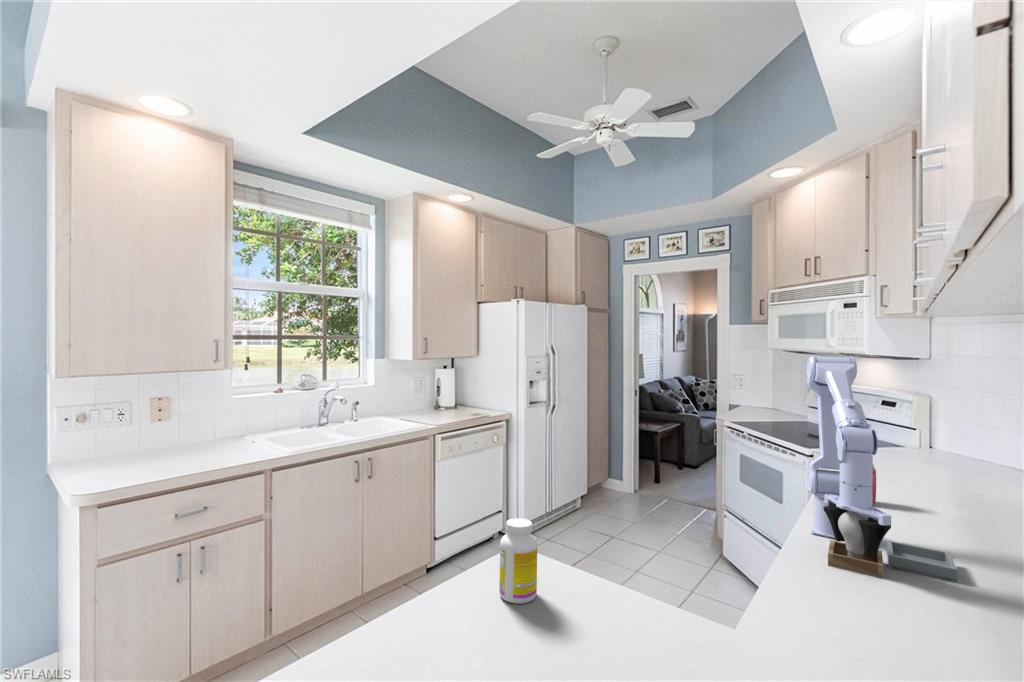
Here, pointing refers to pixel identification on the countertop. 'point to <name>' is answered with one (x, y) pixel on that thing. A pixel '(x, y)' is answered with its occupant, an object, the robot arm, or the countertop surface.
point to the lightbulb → (852, 533)
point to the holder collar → (854, 560)
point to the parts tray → (921, 561)
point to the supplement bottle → (518, 562)
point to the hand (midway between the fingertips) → (855, 547)
